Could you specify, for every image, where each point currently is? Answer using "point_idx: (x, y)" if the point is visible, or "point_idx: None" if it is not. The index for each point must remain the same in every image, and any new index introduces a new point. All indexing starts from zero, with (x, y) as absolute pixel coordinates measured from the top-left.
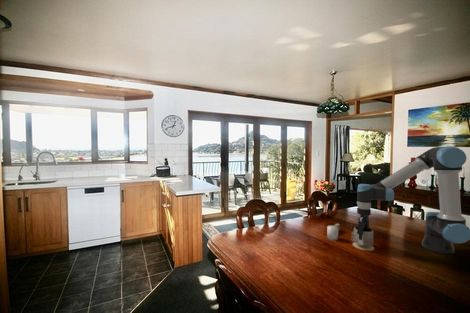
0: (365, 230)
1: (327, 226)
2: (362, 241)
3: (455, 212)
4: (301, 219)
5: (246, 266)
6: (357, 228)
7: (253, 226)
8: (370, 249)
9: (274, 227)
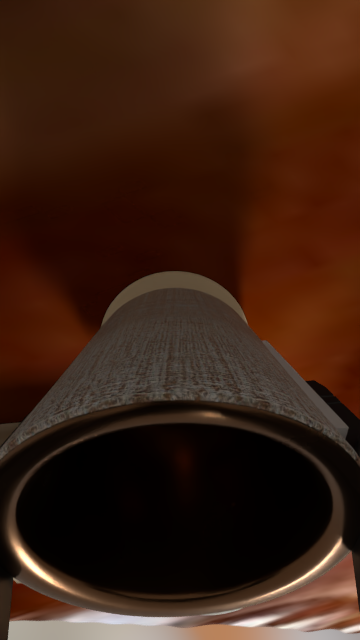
0: (62, 471)
1: (226, 612)
2: (285, 364)
3: None
4: (88, 615)
5: None
6: (142, 552)
7: (315, 630)
8: (203, 287)
9: (271, 610)
